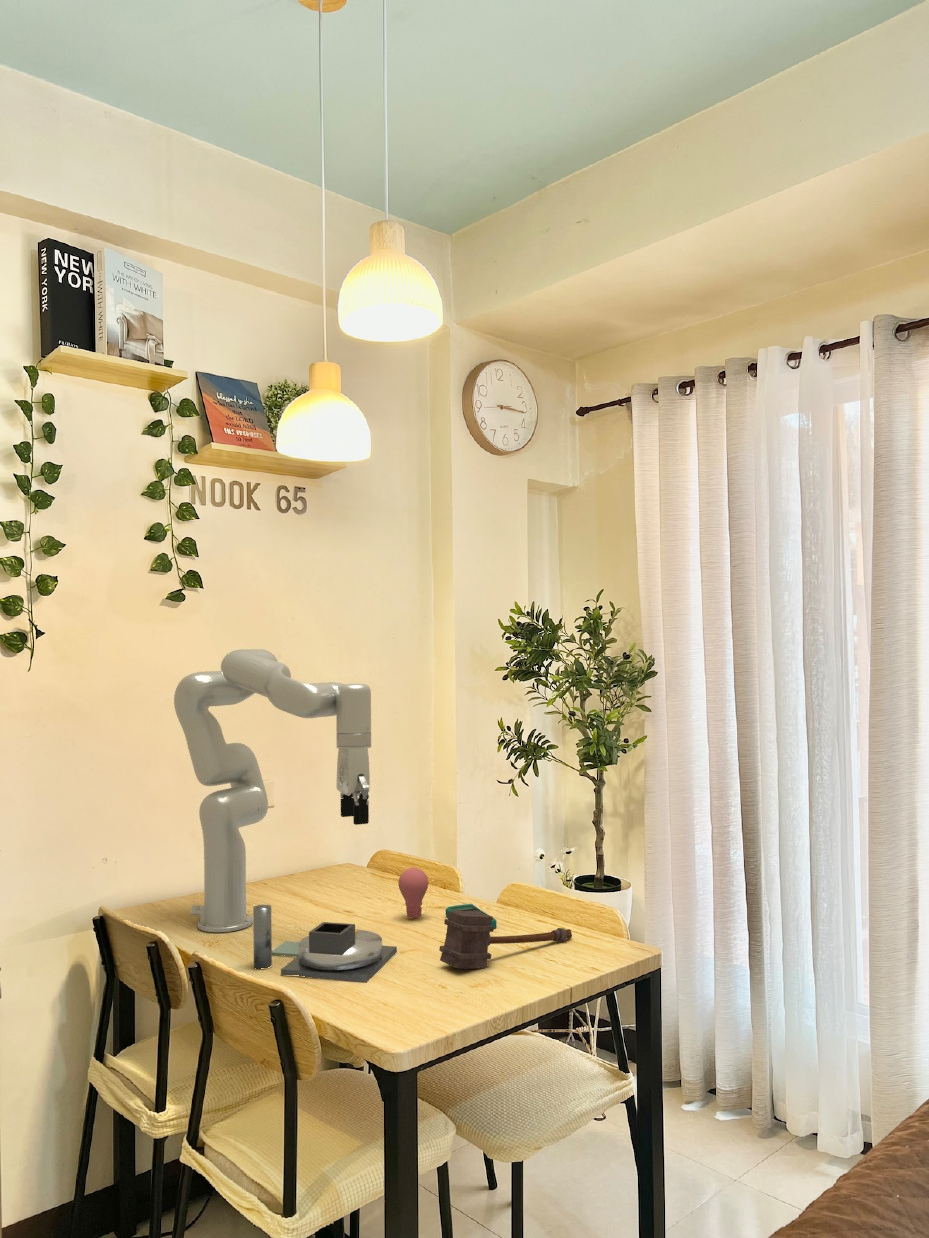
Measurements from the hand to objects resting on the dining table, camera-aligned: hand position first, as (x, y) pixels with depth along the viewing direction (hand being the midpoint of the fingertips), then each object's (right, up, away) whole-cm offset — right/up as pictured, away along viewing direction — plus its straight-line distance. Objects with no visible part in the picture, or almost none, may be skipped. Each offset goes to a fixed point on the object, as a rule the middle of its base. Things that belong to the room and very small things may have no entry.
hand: (354, 820), depth 198 cm
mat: (-13, -28, -2) cm, 30 cm away
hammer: (+34, -27, -6) cm, 44 cm away
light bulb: (+12, -28, +20) cm, 36 cm away
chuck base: (-2, -27, -11) cm, 29 cm away
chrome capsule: (-17, -27, -12) cm, 34 cm away
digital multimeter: (+25, -28, +16) cm, 41 cm away
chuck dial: (-2, -25, -11) cm, 28 cm away
